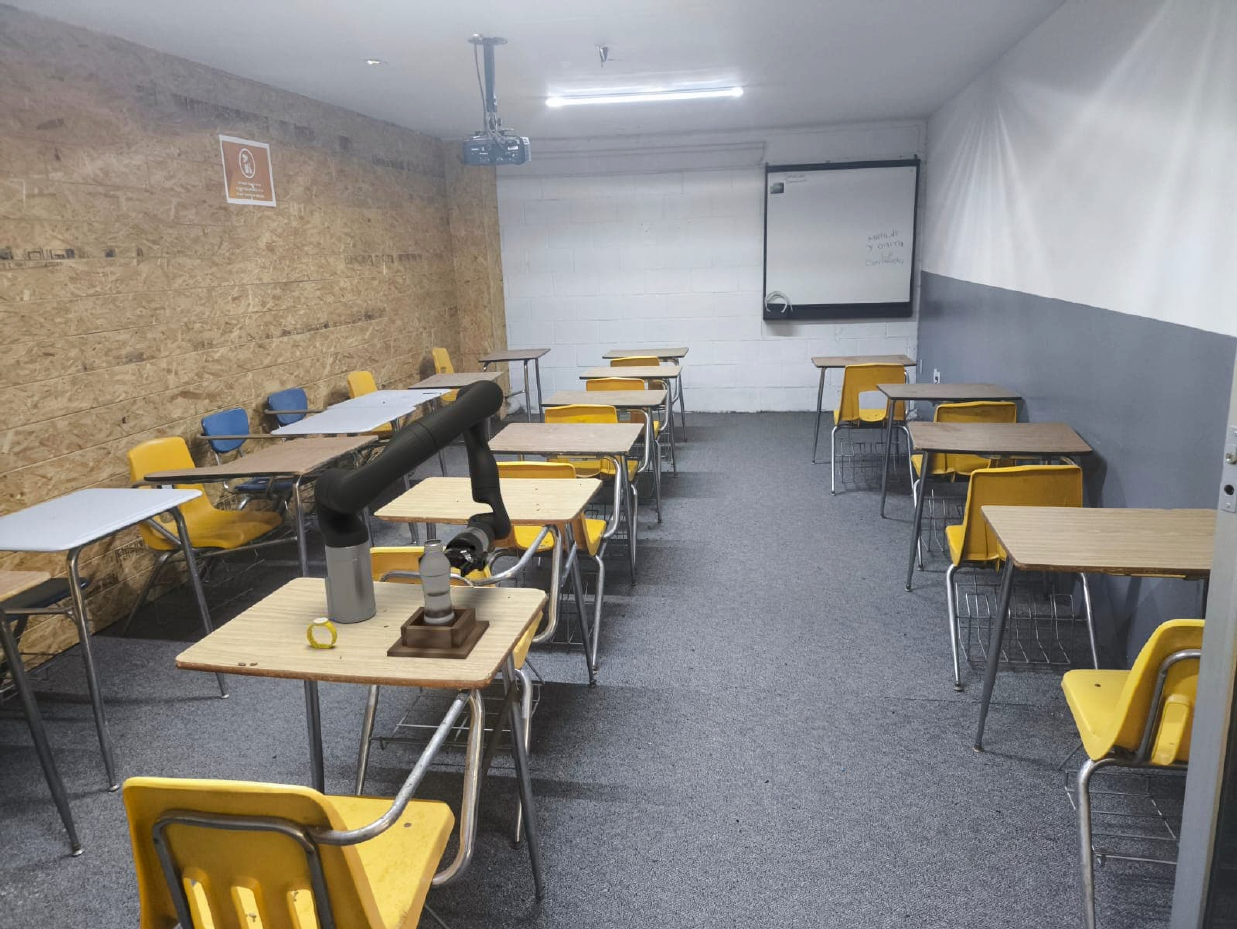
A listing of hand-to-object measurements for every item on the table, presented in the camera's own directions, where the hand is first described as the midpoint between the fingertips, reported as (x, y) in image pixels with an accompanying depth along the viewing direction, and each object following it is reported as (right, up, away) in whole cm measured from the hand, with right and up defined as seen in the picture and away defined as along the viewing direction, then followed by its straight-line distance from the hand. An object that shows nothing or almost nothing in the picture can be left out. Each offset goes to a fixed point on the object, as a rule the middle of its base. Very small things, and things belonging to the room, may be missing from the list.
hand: (442, 572), depth 163 cm
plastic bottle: (0, -13, 0) cm, 13 cm away
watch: (-24, -15, -2) cm, 28 cm away
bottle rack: (0, -14, 0) cm, 14 cm away
